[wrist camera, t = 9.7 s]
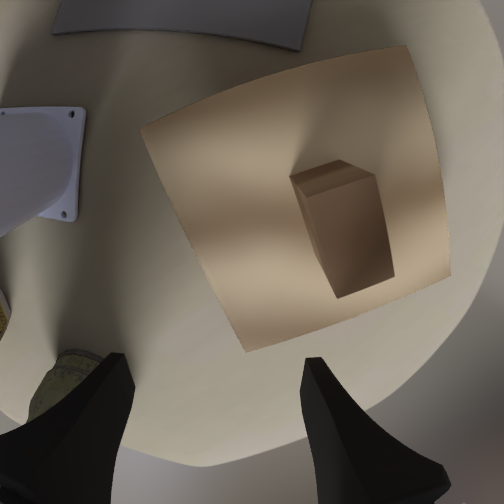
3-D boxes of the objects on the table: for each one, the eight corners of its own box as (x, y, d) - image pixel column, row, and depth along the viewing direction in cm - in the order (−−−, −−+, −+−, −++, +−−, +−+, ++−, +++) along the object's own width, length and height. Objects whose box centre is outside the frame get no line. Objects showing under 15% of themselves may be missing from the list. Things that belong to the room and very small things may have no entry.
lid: (142, 128, 13) (99, 133, 8) (400, 47, 11) (454, 28, 7) (245, 345, 18) (246, 406, 13) (445, 271, 16) (488, 311, 12)
